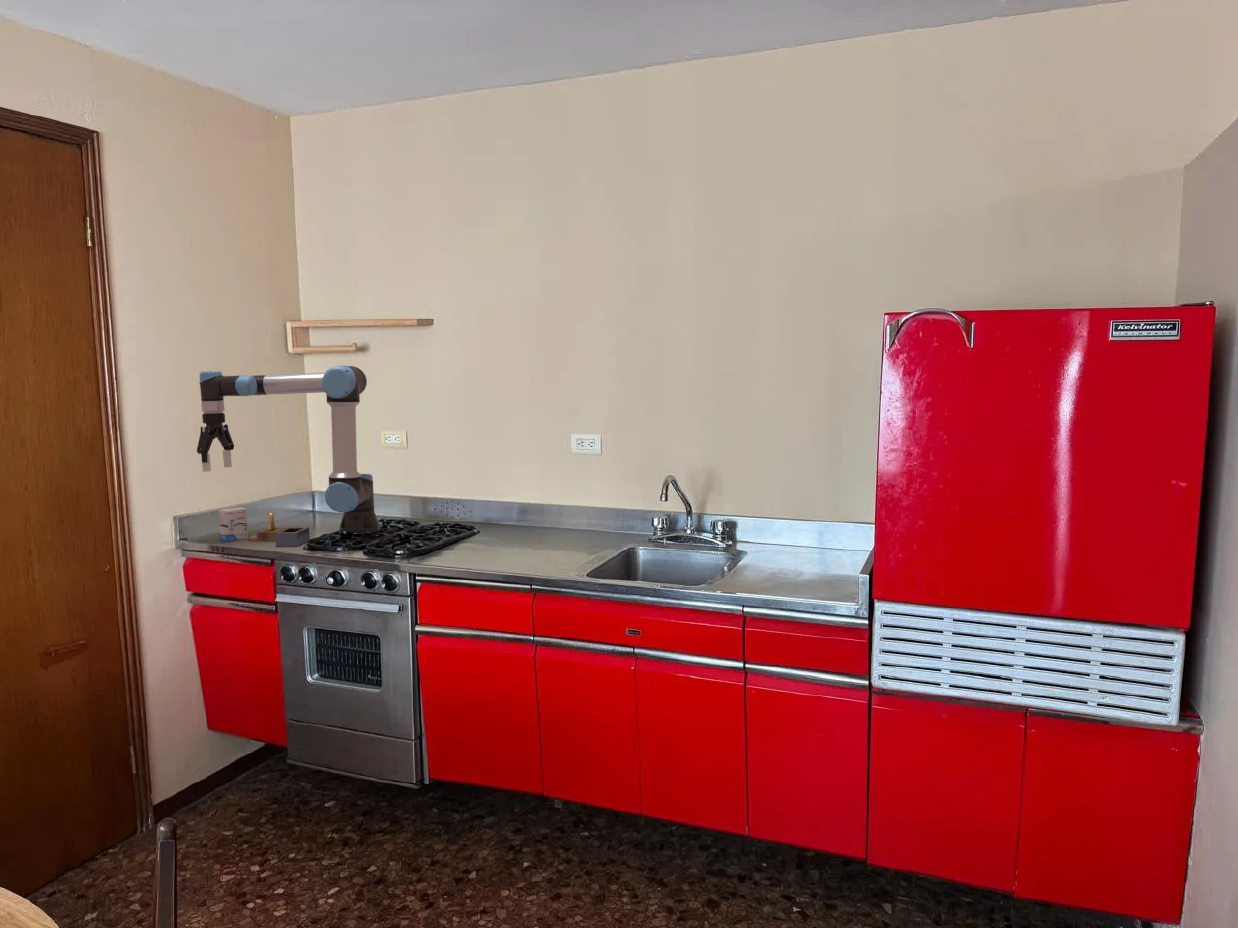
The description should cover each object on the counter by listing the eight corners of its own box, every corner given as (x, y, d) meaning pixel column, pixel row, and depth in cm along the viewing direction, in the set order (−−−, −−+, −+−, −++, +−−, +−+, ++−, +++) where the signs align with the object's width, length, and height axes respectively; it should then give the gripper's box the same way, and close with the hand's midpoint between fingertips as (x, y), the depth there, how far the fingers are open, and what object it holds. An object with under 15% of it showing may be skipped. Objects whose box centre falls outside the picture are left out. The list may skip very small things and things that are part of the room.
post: (276, 529, 311) (275, 512, 311) (272, 530, 308) (271, 513, 308) (269, 529, 311) (268, 512, 311) (266, 530, 309) (265, 513, 308)
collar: (309, 540, 305) (309, 527, 305) (297, 546, 294) (296, 532, 294) (288, 540, 305) (287, 527, 305) (275, 546, 294) (274, 533, 294)
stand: (295, 535, 315) (295, 527, 315) (284, 540, 305) (284, 532, 305) (260, 535, 316) (259, 527, 315) (247, 541, 306) (247, 532, 305)
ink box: (226, 542, 305) (224, 511, 304) (220, 540, 308) (217, 509, 307) (248, 538, 312) (246, 507, 311) (242, 536, 315) (240, 506, 314)
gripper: (223, 411, 316) (227, 465, 318) (183, 414, 291) (187, 473, 293) (241, 410, 315) (245, 465, 317) (202, 414, 290) (207, 473, 293)
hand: (217, 469), depth 305 cm, fingers open, 13 cm apart
